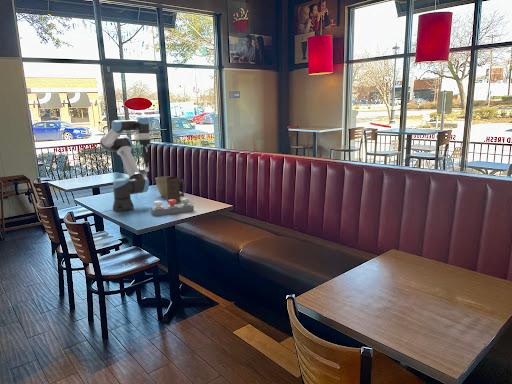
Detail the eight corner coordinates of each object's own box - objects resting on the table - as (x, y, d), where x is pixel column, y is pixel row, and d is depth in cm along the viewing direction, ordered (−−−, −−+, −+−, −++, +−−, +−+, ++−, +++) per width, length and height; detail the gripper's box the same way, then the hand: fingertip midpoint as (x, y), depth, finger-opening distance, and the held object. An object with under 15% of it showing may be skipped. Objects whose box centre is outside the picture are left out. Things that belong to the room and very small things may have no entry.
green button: (182, 205, 273) (182, 199, 272) (180, 203, 278) (180, 198, 277) (190, 204, 275) (190, 199, 274) (188, 202, 281) (188, 197, 280)
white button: (154, 208, 264) (154, 202, 264) (153, 206, 270) (153, 201, 269) (163, 207, 267) (163, 202, 266) (161, 205, 272) (161, 200, 271)
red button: (169, 206, 269) (168, 201, 268) (167, 205, 274) (166, 199, 273) (177, 205, 271) (177, 200, 270) (175, 204, 276) (175, 198, 276)
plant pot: (158, 194, 336) (157, 176, 333) (174, 193, 337) (173, 176, 334) (154, 197, 322) (153, 179, 319) (172, 197, 323) (171, 179, 319)
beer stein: (166, 202, 303) (166, 178, 299) (165, 199, 313) (165, 176, 309) (185, 202, 307) (185, 178, 303) (184, 199, 317) (184, 176, 313)
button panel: (153, 215, 263) (153, 209, 262) (151, 212, 272) (150, 206, 271) (193, 210, 275) (193, 205, 274) (190, 208, 284) (189, 202, 283)
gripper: (151, 139, 264) (153, 172, 269) (148, 138, 276) (150, 169, 280) (140, 139, 261) (143, 172, 266) (137, 138, 273) (140, 170, 277)
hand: (146, 171), depth 273 cm, fingers closed
